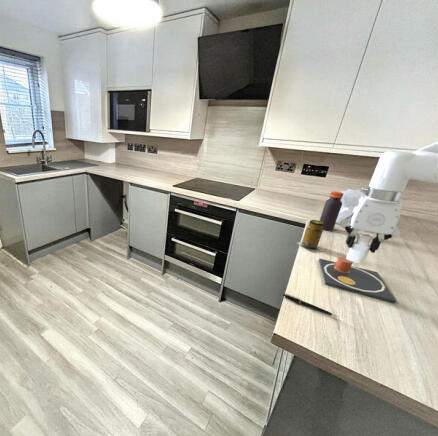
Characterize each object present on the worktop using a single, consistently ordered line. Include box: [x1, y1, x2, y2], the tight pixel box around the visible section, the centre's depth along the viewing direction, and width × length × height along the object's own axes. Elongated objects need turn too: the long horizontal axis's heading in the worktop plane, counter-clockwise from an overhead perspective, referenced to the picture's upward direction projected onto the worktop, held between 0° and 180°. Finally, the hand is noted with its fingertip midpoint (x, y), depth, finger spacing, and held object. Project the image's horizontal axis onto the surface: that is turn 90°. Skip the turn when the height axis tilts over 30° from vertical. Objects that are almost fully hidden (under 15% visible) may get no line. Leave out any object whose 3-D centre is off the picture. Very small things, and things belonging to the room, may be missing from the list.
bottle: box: [319, 190, 343, 232], centre depth 123 cm, size 7×7×20 cm
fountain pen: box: [281, 293, 339, 318], centre depth 69 cm, size 14×1×2 cm, turn 51°
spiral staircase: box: [335, 188, 365, 226], centre depth 135 cm, size 18×18×25 cm
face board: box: [318, 257, 397, 304], centre depth 83 cm, size 18×18×1 cm
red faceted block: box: [334, 256, 354, 272], centre depth 87 cm, size 4×4×4 cm
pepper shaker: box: [345, 232, 373, 265], centre depth 76 cm, size 4×4×10 cm
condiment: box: [297, 219, 326, 253], centre depth 103 cm, size 7×8×12 cm
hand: (360, 248), depth 76 cm, fingers closed on pepper shaker, 5 cm apart
